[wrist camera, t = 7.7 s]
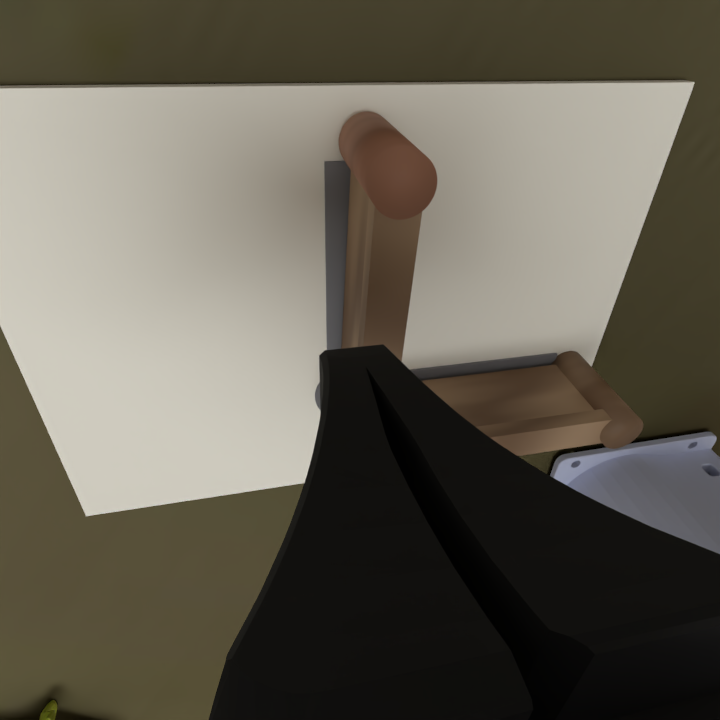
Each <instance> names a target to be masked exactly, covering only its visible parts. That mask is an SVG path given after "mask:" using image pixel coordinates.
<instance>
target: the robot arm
mask: <svg viewBox="0 0 720 720" xmlns="http://www.w3.org/2000/svg"><path fill="white" fill-rule="evenodd" d="M319 371H320V412H321V414H320V421H319V426H318V431H317V436H316V441H315V445H314V450H313V454H312V458H311V462H310V466H309V469H308V473H307V476H306V480H305V483H304V486H303V489H302V492H301V495H300V498H299V501H298V504H297V507H296V509H295V512H294V515H293V518H292V521H291V523H290V526H289V528H288V531H287V533H286V536H285V538H284V541H283V543H282V546H281V548H280V550H279V552H278V554H277V557H276V559H275V561H274V563H273V565H272V568H271V570H270V572H269V574H268V577H267V579H266V581H265V583H264V585H263V588H262V590H261V592H260V594H259V596H258V598H257V600H256V602H255V603H254V605H253V607H252V609H251V611H250V613H249V615H248V617H247V618H246V620H245V622H244V624H243V626H242V628H241V630H240V632H239V633H238V635H237V637H236V639H235V641H234V643H233V645H232V647H231V648H230V650H229V652H228V654H227V657H226V662H225V665H224V669H223V672H222V675H221V679H220V682H219V685H218V688H217V692H216V695H215V699H214V702H213V706H212V710H211V713H210V717H209V720H720V457H719V456H718V455H717V454H716V453H715V452H714V451H713V450H712V447H713V445H714V444H715V442H716V439H717V438H716V436H715V435H714V434H713V433H712V432H701V433H695V434H689V435H682V436H676V437H670V438H663V439H657V440H650V441H644V442H638V443H631V444H628V445H626V446H623V447H621V448H616V449H609V448H607V447H606V448H599V449H593V450H587V451H580V452H574V453H567V454H563V455H561V456H559V457H558V458H557V459H556V461H555V463H554V466H553V468H552V471H551V474H550V476H549V475H547V474H545V473H544V472H542V471H540V470H539V469H537V468H535V467H534V466H532V465H530V464H529V463H527V462H526V461H524V460H523V459H521V458H520V457H518V456H517V455H515V454H513V453H512V452H510V451H509V450H507V449H506V448H504V447H503V446H501V445H500V444H498V443H497V442H495V441H494V440H493V439H491V438H490V437H488V436H487V435H486V434H484V433H483V432H482V431H480V430H479V429H478V428H476V427H475V426H474V425H473V424H471V423H470V422H469V421H467V420H466V419H465V418H463V417H462V416H461V415H460V414H459V413H457V412H456V411H455V410H454V409H452V408H451V407H450V406H449V405H448V404H447V403H446V402H444V401H443V400H442V399H441V398H440V397H439V396H438V395H436V394H435V393H434V392H433V391H432V390H431V389H430V388H429V387H428V386H426V385H425V384H424V383H423V382H422V381H421V380H420V379H419V378H418V377H417V376H416V375H415V374H414V373H413V372H412V371H411V370H409V369H408V368H407V367H406V366H405V365H404V364H403V363H402V362H401V361H400V360H399V359H398V358H397V357H396V356H395V355H394V354H393V353H392V352H391V351H390V350H389V349H388V348H387V347H386V346H384V345H383V344H381V345H372V346H362V347H352V348H343V349H333V350H324V351H323V352H322V353H321V354H320V355H319Z"/></svg>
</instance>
